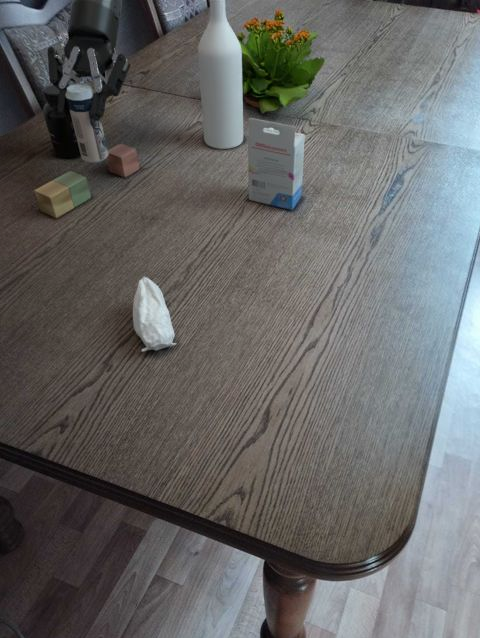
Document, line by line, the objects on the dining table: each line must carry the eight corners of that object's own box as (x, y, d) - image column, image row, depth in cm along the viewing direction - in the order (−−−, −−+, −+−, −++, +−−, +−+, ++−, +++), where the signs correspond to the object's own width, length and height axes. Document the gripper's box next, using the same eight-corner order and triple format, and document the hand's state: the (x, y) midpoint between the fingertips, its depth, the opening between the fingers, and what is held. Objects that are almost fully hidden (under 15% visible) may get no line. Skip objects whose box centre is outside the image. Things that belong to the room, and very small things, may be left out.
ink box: (302, 197, 98) (308, 114, 87) (292, 211, 95) (296, 127, 84) (259, 187, 100) (259, 105, 90) (247, 200, 97) (246, 117, 87)
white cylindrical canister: (110, 162, 96) (95, 91, 87) (82, 166, 95) (64, 95, 86) (108, 149, 99) (93, 80, 90) (80, 153, 98) (63, 83, 89)
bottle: (232, 152, 109) (226, -26, 88) (197, 144, 112) (182, -32, 90) (250, 135, 114) (248, -37, 93) (215, 128, 117) (206, -42, 95)
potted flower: (193, 111, 122) (186, 24, 110) (229, 74, 138) (226, -7, 125) (302, 127, 117) (308, 37, 105) (326, 86, 133) (334, 3, 120)
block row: (40, 211, 94) (33, 190, 91) (124, 163, 106) (120, 143, 103) (56, 218, 93) (50, 197, 90) (139, 169, 105) (136, 149, 102)
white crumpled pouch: (126, 322, 77) (141, 356, 69) (125, 276, 74) (140, 308, 66) (161, 318, 79) (179, 352, 71) (161, 274, 76) (180, 304, 68)
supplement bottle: (47, 155, 108) (29, 93, 99) (66, 140, 112) (50, 79, 104) (77, 161, 106) (62, 98, 98) (96, 146, 111) (82, 84, 102)
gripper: (43, -6, 87) (26, 102, 87) (127, 1, 84) (109, 112, 85) (67, 21, 94) (52, 121, 95) (146, 28, 92) (129, 130, 92)
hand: (79, 116), depth 90 cm, fingers closed on white cylindrical canister, 5 cm apart
